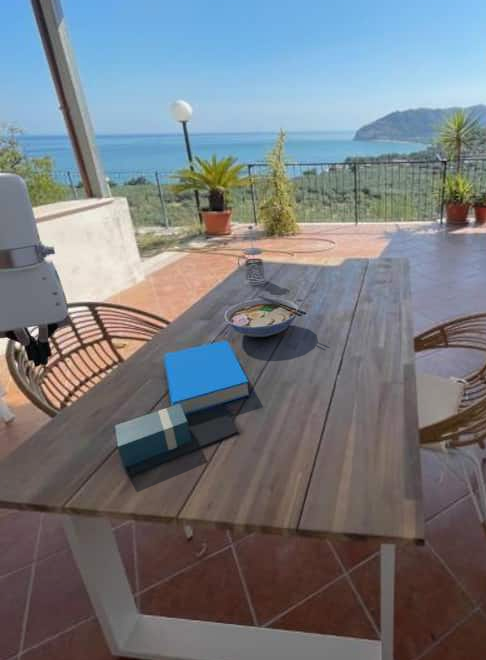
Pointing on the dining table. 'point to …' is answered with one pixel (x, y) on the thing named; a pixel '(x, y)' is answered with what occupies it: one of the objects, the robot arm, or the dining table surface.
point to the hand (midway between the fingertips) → (41, 361)
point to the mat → (194, 436)
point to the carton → (152, 434)
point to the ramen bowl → (262, 316)
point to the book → (204, 377)
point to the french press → (253, 261)
